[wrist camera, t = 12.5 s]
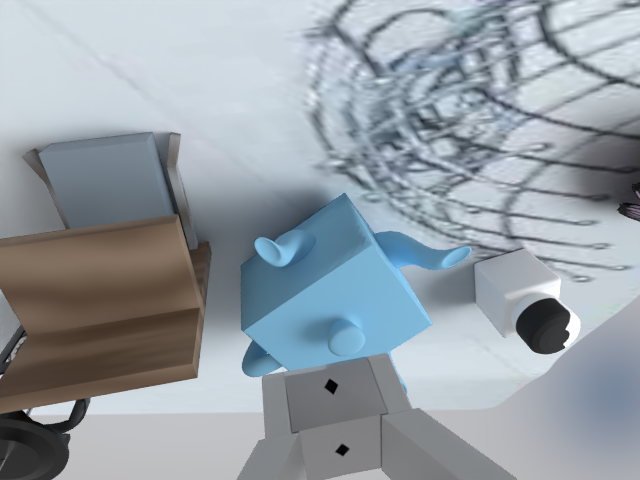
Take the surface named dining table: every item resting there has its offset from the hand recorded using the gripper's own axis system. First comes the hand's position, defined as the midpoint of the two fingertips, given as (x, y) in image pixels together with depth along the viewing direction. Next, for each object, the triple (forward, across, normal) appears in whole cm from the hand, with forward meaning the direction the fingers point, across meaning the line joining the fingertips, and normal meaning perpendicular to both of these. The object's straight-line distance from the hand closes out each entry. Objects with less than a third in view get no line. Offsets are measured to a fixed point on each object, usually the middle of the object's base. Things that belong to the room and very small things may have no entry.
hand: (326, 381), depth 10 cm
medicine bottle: (+34, -28, +26) cm, 51 cm away
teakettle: (+34, -5, +18) cm, 39 cm away
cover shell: (+34, +15, +8) cm, 38 cm away
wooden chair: (+34, +15, +9) cm, 38 cm away
